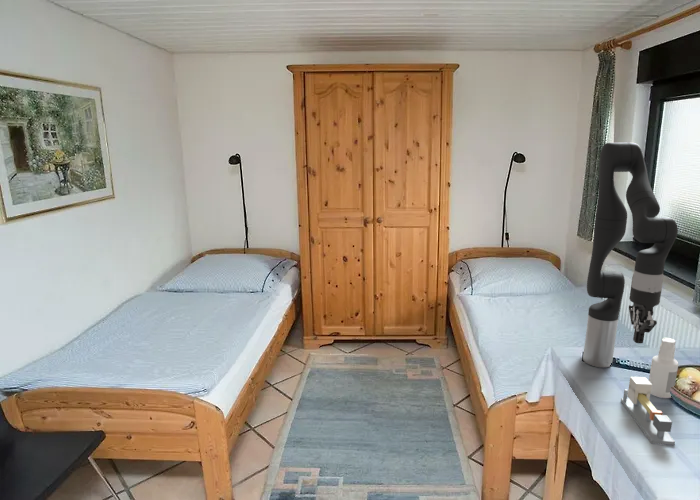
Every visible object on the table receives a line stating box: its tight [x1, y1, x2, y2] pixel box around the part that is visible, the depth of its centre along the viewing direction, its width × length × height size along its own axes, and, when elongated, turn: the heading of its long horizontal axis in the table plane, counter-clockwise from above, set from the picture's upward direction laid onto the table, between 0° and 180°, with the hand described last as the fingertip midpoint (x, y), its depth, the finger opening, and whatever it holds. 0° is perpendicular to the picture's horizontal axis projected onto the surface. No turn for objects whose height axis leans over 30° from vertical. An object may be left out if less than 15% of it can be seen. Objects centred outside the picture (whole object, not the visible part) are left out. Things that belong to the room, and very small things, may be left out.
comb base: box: [620, 388, 676, 446], centre depth 137 cm, size 20×6×4 cm, turn 173°
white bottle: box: [648, 337, 679, 399], centre depth 150 cm, size 7×7×18 cm
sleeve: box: [627, 376, 652, 404], centre depth 142 cm, size 4×4×6 cm
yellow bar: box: [637, 393, 673, 433], centre depth 136 cm, size 18×3×3 cm, turn 173°
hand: (637, 342), depth 143 cm, fingers closed
